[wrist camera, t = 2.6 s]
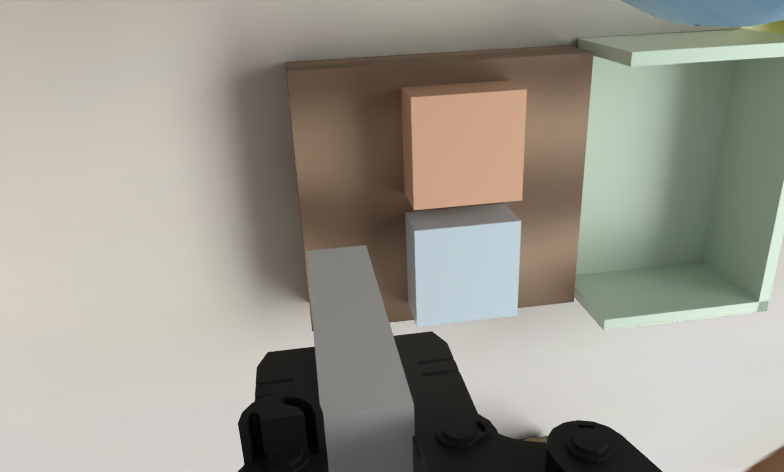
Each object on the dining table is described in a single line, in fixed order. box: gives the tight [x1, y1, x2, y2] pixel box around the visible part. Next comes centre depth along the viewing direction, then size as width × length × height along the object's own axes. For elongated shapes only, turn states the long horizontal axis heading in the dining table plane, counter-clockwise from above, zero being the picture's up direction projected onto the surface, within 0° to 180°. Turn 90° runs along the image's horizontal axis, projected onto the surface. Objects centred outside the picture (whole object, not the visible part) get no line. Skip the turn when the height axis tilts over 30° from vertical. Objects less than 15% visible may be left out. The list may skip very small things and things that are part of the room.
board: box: [286, 45, 594, 331], centre depth 33 cm, size 13×14×3 cm
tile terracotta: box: [401, 80, 527, 210], centre depth 29 cm, size 5×5×2 cm
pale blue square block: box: [405, 203, 521, 327], centre depth 32 cm, size 5×5×2 cm
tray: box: [574, 29, 784, 330], centre depth 33 cm, size 14×9×6 cm, turn 2°
